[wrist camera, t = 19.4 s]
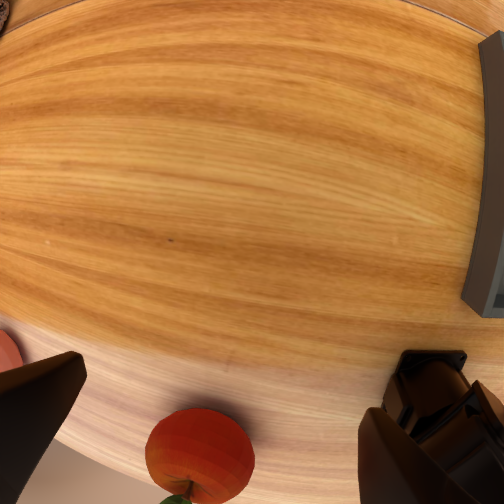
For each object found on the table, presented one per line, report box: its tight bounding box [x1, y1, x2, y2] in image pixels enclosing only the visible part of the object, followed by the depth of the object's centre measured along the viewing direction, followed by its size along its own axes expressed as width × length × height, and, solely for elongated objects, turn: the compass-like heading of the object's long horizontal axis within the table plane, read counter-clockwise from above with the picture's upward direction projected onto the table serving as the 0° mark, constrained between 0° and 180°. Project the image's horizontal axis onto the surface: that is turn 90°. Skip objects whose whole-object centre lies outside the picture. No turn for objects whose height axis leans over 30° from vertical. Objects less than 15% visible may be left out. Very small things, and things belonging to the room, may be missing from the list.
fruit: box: [145, 408, 255, 504], centre depth 20 cm, size 10×10×10 cm
